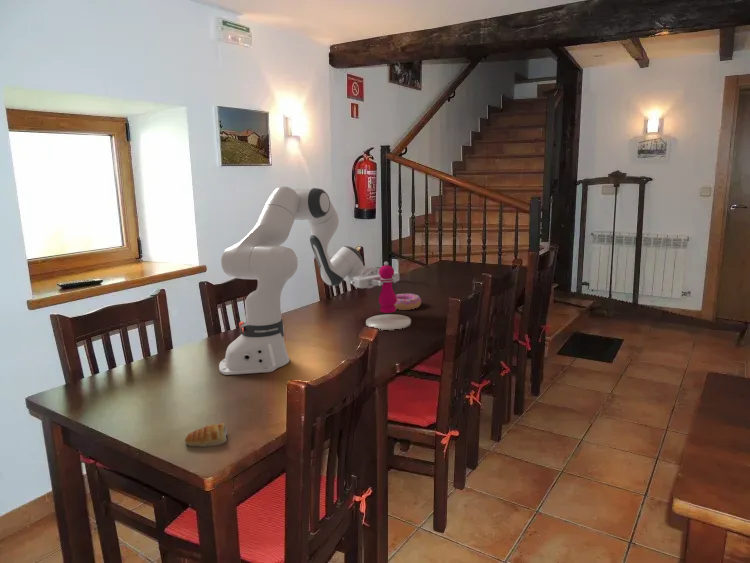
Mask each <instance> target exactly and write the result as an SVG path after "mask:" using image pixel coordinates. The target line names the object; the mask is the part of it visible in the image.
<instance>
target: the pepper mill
mask: <svg viewBox="0 0 750 563" xmlns="http://www.w3.org/2000/svg"><path fill="white" fill-rule="evenodd" d="M380 267H381V268H380V269H379V275H380V276H381V278H380V279H381V281H383V285H382V286H381V290H380V293H379V295H378V303H379V305H380V307H379V311H380V313H385V314H392V313H394V312H396V311H397V309H396V306H394V305H395V303H396V302H397V298H396V293H395V291H394V289H393V283H392V281H393V277H392V276H393V275H394V271H395V270H394V268H393V266H391V265H389V261H384V263H383V265H382V266H380Z"/></svg>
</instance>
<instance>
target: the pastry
mask: <svg viewBox="0 0 750 563" xmlns="http://www.w3.org/2000/svg"><path fill="white" fill-rule="evenodd" d="M227 434H228V431H227V429H226V425H225V423H224V422H221V423H218V424H217V423H216V424H207V425H206V426H203V427H201V428H200V429H195V430H194V431H191V432H190V433H188V434H187V436H186V437H185V439H184V441H185V444H187V445H188V446H189V447H193V448H194V447H198V448H199V447H201V448H205V447H212V446H214V447H215V446H220V445H223V444H226V442H227Z"/></svg>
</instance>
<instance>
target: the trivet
mask: <svg viewBox="0 0 750 563" xmlns="http://www.w3.org/2000/svg"><path fill="white" fill-rule="evenodd" d="M411 325H412V319H411V318H410V317H409V316H406V315H403V314H396V313H395V314H394V313H393V314H392V313H385V314H377V315H374V316H370V317H369V318H367V319H366V320H365V326H366V327H367V326H368V327H374V328H378V329H379V330H378V331H383V330H389V331H395V330H394V329H399V330H402V328H403V329H406V328H409V327H410V326H411ZM368 327H367V328H368ZM380 329H381V330H380Z"/></svg>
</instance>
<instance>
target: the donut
mask: <svg viewBox="0 0 750 563" xmlns="http://www.w3.org/2000/svg"><path fill="white" fill-rule="evenodd" d="M395 295H396V298H397V302H396V303H395V305H394V306H396V310H397V309H398V310H397V311H410V310H411V309H412V310H416V309H418V308H419V307H420V306H421V304H422V299H421V297H420V295H418V294H415V293H397V294H396V293H395ZM415 308H416V309H415Z"/></svg>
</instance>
